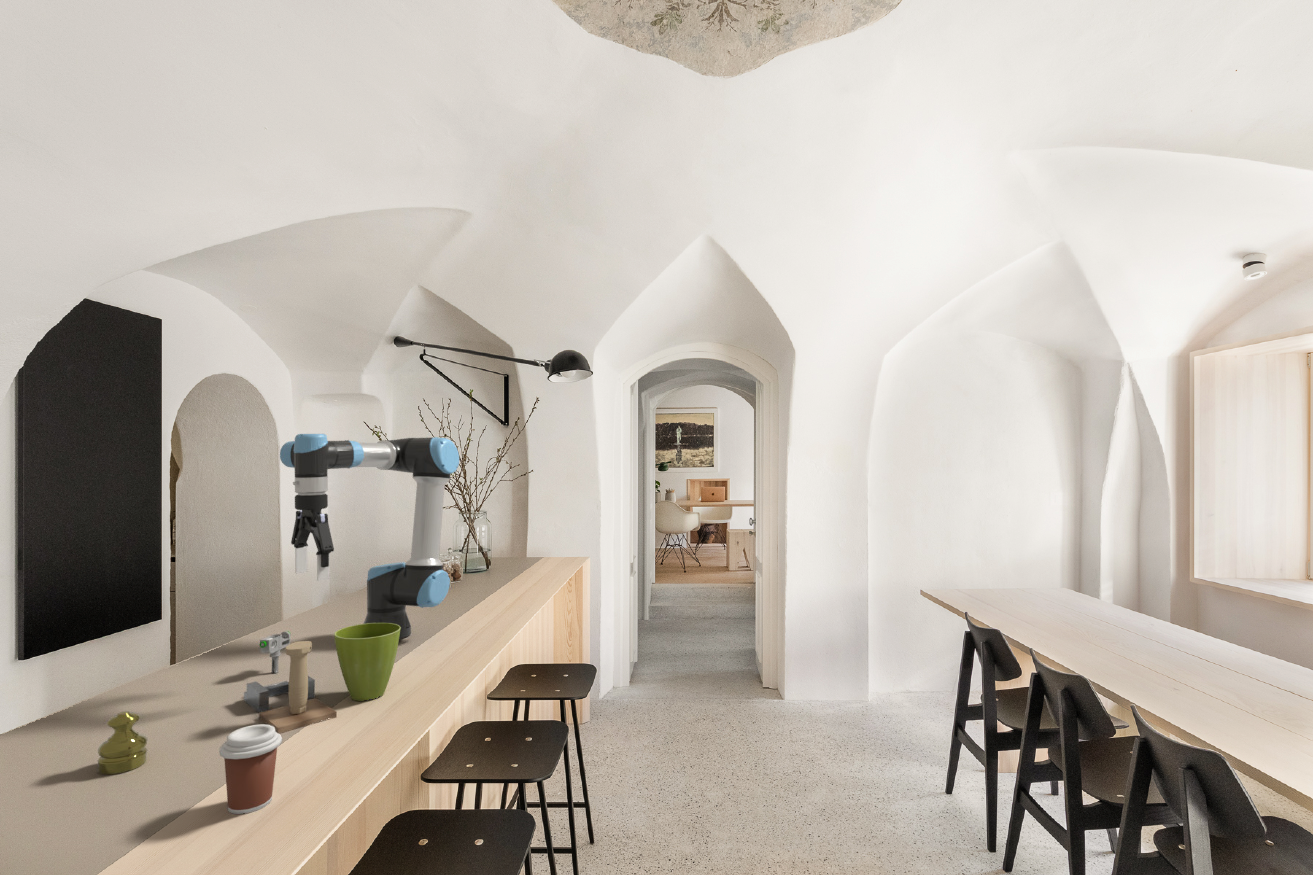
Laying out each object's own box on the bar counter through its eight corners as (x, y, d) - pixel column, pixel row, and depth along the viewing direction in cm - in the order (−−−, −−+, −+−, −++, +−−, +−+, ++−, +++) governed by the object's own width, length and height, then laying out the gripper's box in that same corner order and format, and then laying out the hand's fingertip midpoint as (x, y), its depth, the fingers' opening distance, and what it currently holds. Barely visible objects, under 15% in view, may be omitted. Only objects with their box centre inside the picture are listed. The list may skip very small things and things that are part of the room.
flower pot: (319, 700, 159) (320, 633, 159) (371, 681, 172) (372, 619, 172) (361, 711, 152) (362, 641, 152) (412, 691, 165) (413, 626, 166)
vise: (294, 685, 169) (294, 667, 169) (314, 698, 160) (314, 679, 160) (241, 698, 160) (241, 679, 160) (259, 712, 151) (259, 692, 151)
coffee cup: (291, 789, 117) (292, 721, 117) (262, 817, 108) (263, 743, 108) (238, 790, 117) (239, 721, 117) (205, 818, 107) (206, 744, 108)
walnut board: (315, 703, 157) (315, 698, 157) (336, 717, 149) (336, 711, 149) (259, 718, 148) (259, 712, 148) (278, 733, 140) (278, 727, 140)
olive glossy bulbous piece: (141, 753, 131) (142, 702, 131) (152, 764, 126) (153, 711, 126) (93, 767, 125) (94, 713, 125) (102, 779, 120) (103, 724, 121)
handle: (280, 718, 145) (281, 649, 145) (292, 707, 151) (293, 641, 152) (304, 717, 146) (304, 648, 146) (314, 705, 152) (315, 640, 152)
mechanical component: (292, 666, 184) (292, 630, 184) (267, 679, 173) (267, 640, 174) (282, 666, 184) (282, 630, 184) (256, 678, 174) (257, 640, 174)
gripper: (276, 491, 175) (277, 571, 175) (316, 497, 159) (317, 585, 159) (306, 490, 181) (307, 567, 181) (347, 495, 164) (348, 580, 165)
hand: (312, 576), depth 170 cm, fingers open, 13 cm apart
